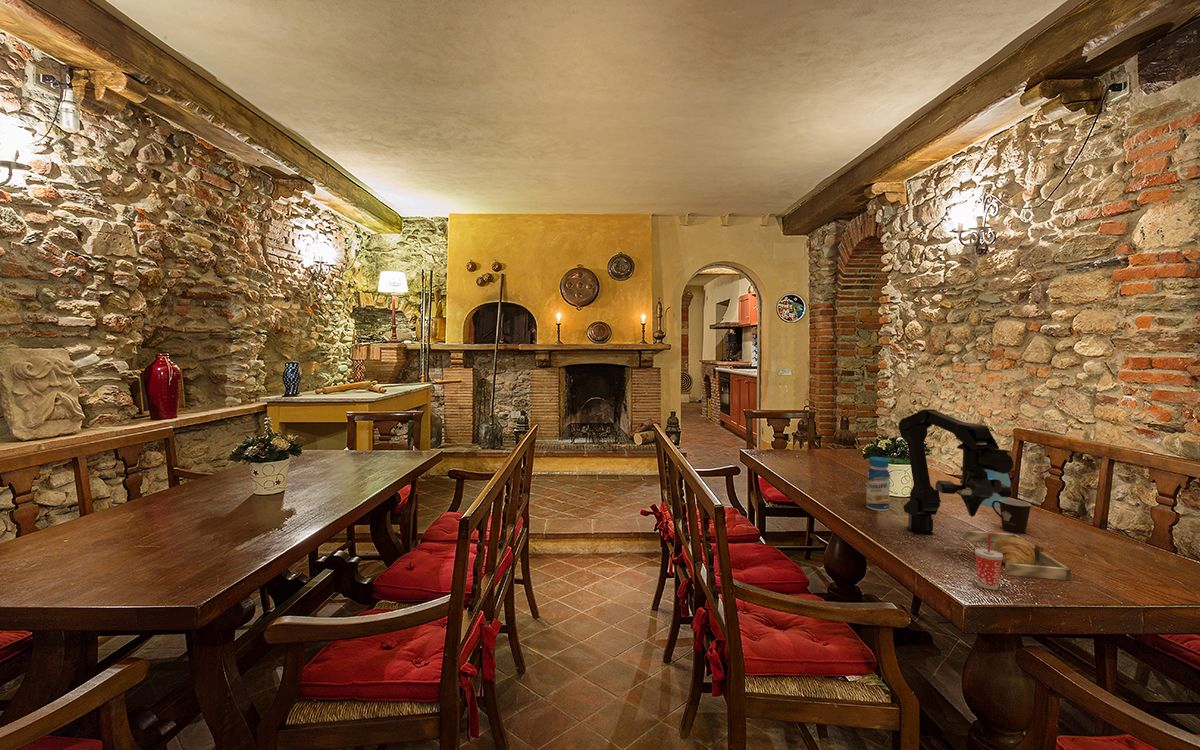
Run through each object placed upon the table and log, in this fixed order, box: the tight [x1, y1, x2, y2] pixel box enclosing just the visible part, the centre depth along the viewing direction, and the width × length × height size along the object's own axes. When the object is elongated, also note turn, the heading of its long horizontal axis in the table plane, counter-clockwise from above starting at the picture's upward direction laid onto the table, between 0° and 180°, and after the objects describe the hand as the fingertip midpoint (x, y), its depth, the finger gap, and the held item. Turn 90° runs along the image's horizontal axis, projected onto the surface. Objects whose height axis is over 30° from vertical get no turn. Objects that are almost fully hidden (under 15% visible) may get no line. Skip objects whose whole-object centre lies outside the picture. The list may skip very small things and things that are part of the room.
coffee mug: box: [991, 498, 1032, 535], centre depth 183 cm, size 12×9×10 cm
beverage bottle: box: [865, 456, 891, 512], centre depth 206 cm, size 8×8×20 cm
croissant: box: [991, 537, 1036, 565], centre depth 157 cm, size 21×10×8 cm, turn 140°
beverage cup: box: [974, 534, 1003, 591], centre depth 139 cm, size 6×6×14 cm
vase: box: [981, 469, 1012, 509], centre depth 212 cm, size 8×8×20 cm
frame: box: [963, 530, 1072, 581], centre depth 158 cm, size 15×28×4 cm, turn 166°
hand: (971, 516), depth 160 cm, fingers closed
